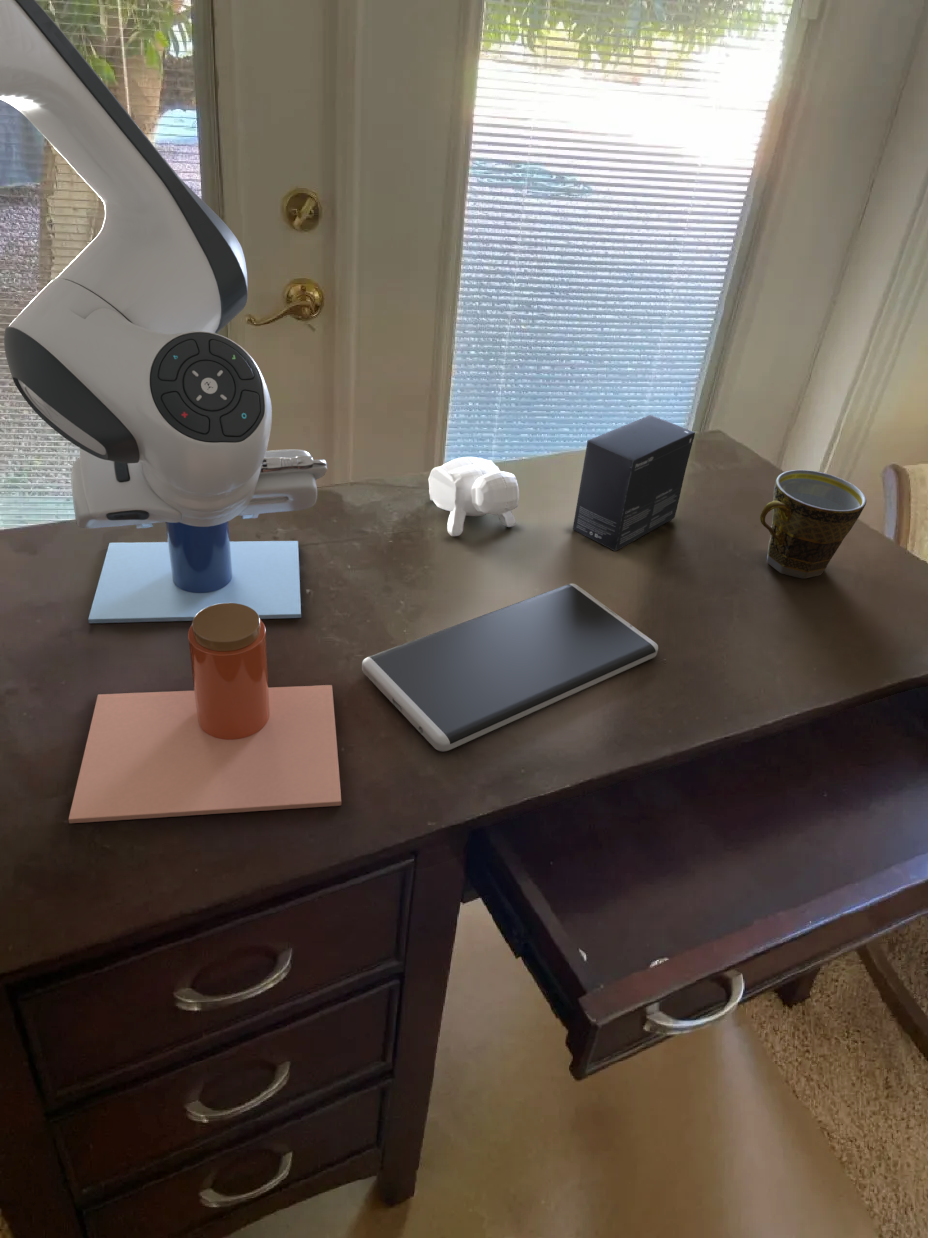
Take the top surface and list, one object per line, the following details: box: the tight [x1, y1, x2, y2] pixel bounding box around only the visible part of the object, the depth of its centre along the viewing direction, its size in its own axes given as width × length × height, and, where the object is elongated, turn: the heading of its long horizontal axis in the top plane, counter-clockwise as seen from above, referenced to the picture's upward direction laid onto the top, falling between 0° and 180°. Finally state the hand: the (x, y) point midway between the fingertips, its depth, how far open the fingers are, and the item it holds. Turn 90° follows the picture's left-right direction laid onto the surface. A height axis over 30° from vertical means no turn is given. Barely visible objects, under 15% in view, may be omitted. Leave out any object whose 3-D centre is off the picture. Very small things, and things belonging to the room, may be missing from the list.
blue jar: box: [164, 521, 232, 593], centre depth 89 cm, size 6×6×10 cm
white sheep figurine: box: [427, 456, 520, 537], centre depth 105 cm, size 8×8×15 cm
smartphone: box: [361, 583, 659, 752], centre depth 85 cm, size 13×27×2 cm, turn 127°
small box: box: [572, 414, 696, 552], centre depth 107 cm, size 13×7×12 cm, turn 136°
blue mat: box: [87, 540, 302, 624], centre depth 92 cm, size 20×14×1 cm
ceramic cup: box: [759, 469, 867, 580], centre depth 103 cm, size 13×10×10 cm
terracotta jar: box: [187, 603, 270, 740], centre depth 73 cm, size 6×6×10 cm
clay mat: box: [68, 684, 342, 824], centre depth 73 cm, size 20×14×1 cm
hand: (196, 515), depth 83 cm, fingers open, 8 cm apart
